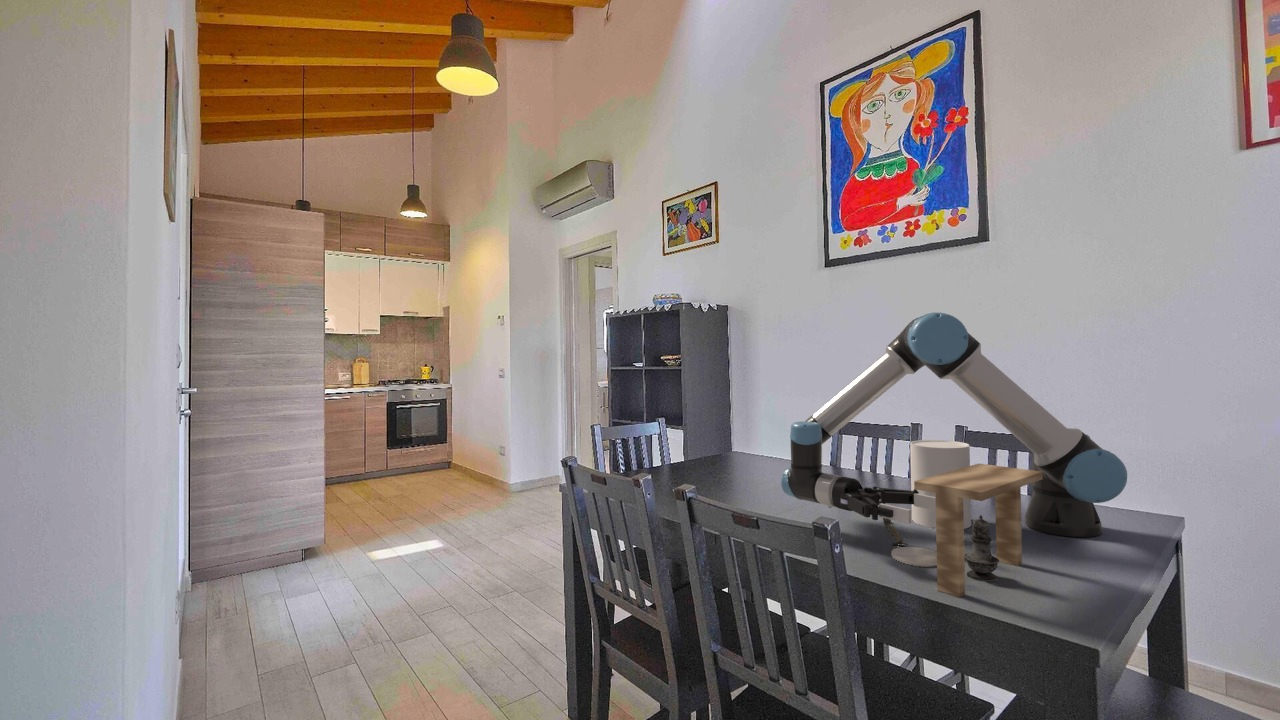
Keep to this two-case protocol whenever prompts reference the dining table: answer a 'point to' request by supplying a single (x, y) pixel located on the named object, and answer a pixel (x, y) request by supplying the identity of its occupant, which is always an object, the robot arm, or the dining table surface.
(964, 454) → the canister
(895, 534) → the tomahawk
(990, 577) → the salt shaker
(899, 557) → the coaster
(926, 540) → the dining table surface
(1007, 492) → the wooden stool
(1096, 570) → the dining table surface
